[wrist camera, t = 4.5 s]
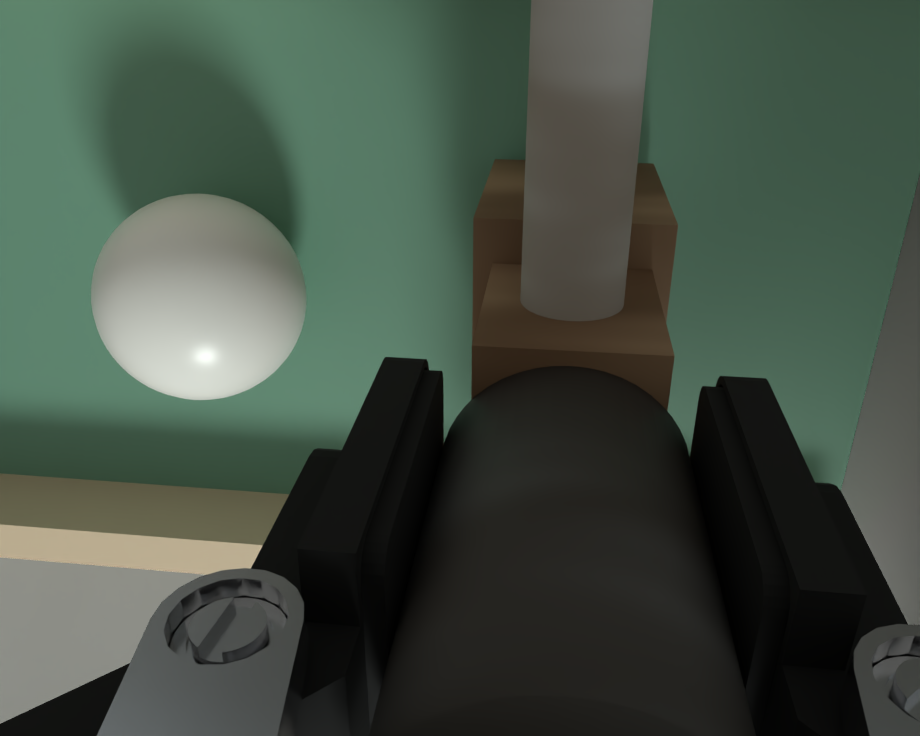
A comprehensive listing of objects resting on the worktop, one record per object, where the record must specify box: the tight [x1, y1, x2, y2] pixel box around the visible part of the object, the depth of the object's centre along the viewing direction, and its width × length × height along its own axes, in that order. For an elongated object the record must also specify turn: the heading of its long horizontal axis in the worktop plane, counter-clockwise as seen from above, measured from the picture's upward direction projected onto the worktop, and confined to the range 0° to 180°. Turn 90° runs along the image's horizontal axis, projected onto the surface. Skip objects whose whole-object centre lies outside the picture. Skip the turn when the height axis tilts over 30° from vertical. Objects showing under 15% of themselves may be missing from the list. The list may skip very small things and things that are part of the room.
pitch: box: [0, 0, 920, 575], centre depth 18 cm, size 30×14×3 cm, turn 90°
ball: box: [91, 193, 306, 400], centre depth 16 cm, size 4×4×4 cm
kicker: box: [369, 0, 756, 736], centre depth 12 cm, size 3×19×12 cm, turn 0°
